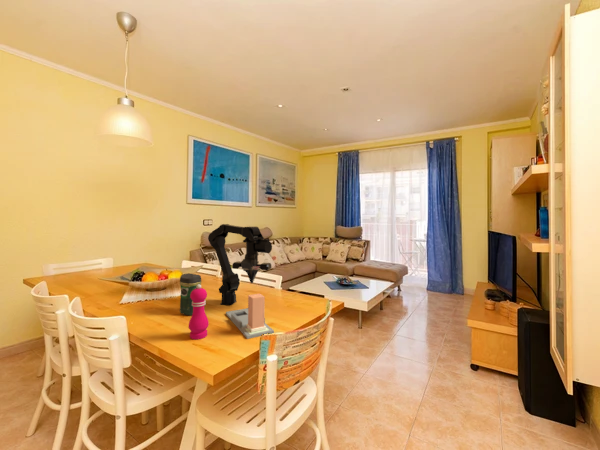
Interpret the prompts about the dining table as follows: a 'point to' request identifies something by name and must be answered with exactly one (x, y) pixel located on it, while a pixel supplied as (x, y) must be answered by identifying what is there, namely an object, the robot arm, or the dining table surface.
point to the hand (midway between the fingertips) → (251, 282)
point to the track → (242, 320)
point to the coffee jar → (188, 292)
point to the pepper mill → (198, 314)
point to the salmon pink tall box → (256, 312)
